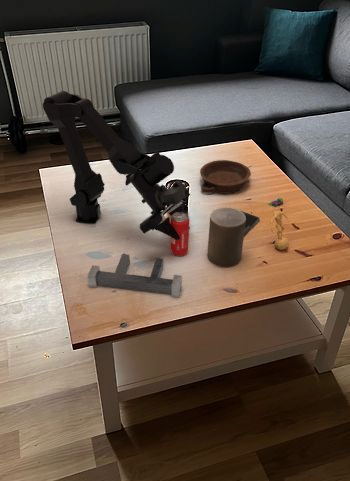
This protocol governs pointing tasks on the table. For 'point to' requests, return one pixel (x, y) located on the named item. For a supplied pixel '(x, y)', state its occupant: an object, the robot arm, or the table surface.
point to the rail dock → (135, 279)
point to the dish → (224, 176)
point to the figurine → (279, 231)
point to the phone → (250, 222)
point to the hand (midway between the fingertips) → (183, 234)
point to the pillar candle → (226, 236)
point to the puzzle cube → (276, 202)
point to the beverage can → (180, 233)
